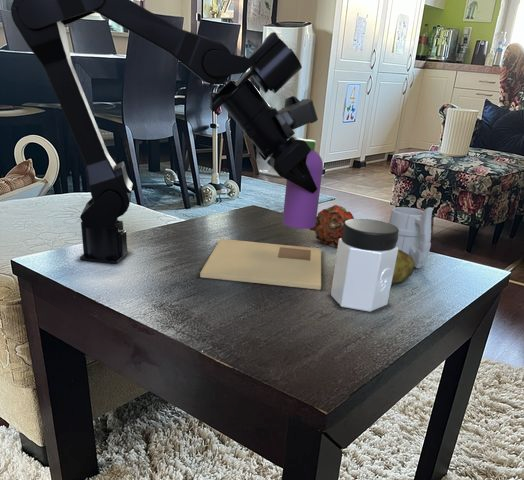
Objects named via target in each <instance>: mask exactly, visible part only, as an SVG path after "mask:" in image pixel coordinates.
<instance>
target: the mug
mask: <svg viewBox="0 0 524 480" xmlns="http://www.w3.org/2000/svg"><path fill="white" fill-rule="evenodd" d="M433 211H434V208H433V207H426V208H425V209H424V210H422V209H418V208H415V207H407V206H406V207H404V206H397V207H393V208H392V209H391V211H390V212H391V213H390V218H389V222H388V223H390V224H392V225H394V226H396V227H397V228H398V229H399V233H398V241H397V243H396V246H397V247H398V249H399V250H401V251H403V252H405V253H407V254H408V255H410V256H411V257H412V258H413V260H414V263H415V266H414V268H416V269H421V268H422V267H423V265H424V263H426V261H427V259H428V257H429V253H430V249H431V247H432V243H431V241H432V240H431V239H432V215H433Z"/></svg>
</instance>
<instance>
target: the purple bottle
mask: <svg viewBox="0 0 524 480" xmlns="http://www.w3.org/2000/svg"><path fill="white" fill-rule="evenodd" d="M302 139H303V140H305V142H306V143H307V144H308V146H309V147H310V148H311V151H310V153H309V154H308V155H307V160H306V164H307V167H308V169H309V171H310V173H311V176H312V178H313V180H314V182H315V184H316V187H317V190H316V191H315V192H314V193H311V192H309V191H307V190H306V189H304V188H302V187H300V186H298V185H296V184H294V183H292V182H291V181H289V180H287V179H286V182H285V192H284V193H285V194H284V203H283V212H282V225H284V226H286V227H288V228H292V229H293V228H294V229H301V230H305V229H306V230H307V229H309V228H313V227H315V225H316V217H317V216H318V209H319V202H320V193H321V186H322V178H323V169H324V164H323V163H324V162H323V159H322V157H321V155H320V154H319V153H318V152H317V150H315V149H316V140H315V139H308V138H302ZM309 230H310V229H309Z"/></svg>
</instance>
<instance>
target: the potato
mask: <svg viewBox="0 0 524 480" xmlns="http://www.w3.org/2000/svg"><path fill="white" fill-rule="evenodd" d="M414 266H415V263H414V260H413V258H412V257H411V256H410V255H408V254H407V253H405V252H403V251H401V250H399V249H398V253H397V258H396V263H395V268H394V273H393V278H392V283H391V285H395V284H399V283H402V282H404V281H406V280H407V279H409V278H410V277H411V276H412V275H413V272H414V269H415V267H414Z"/></svg>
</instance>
